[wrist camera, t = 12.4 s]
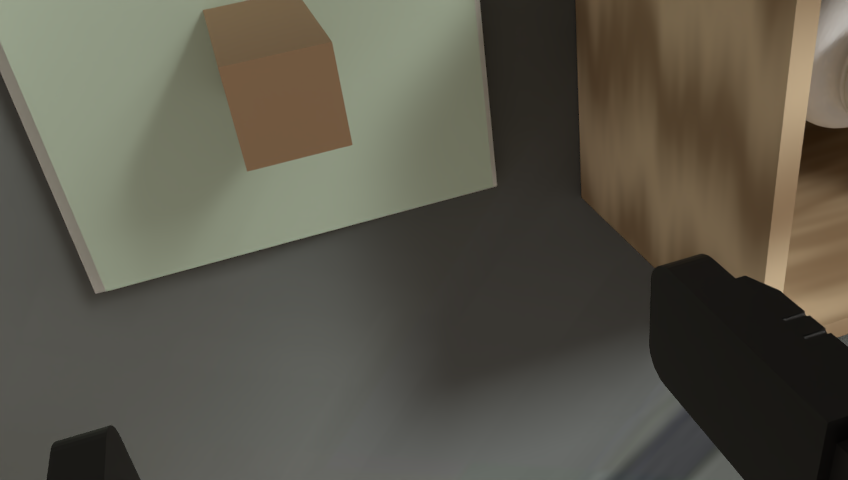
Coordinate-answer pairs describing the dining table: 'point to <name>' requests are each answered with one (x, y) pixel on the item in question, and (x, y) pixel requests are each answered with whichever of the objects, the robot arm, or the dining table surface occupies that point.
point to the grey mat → (3, 66)
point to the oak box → (716, 141)
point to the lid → (246, 118)
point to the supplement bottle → (830, 68)
